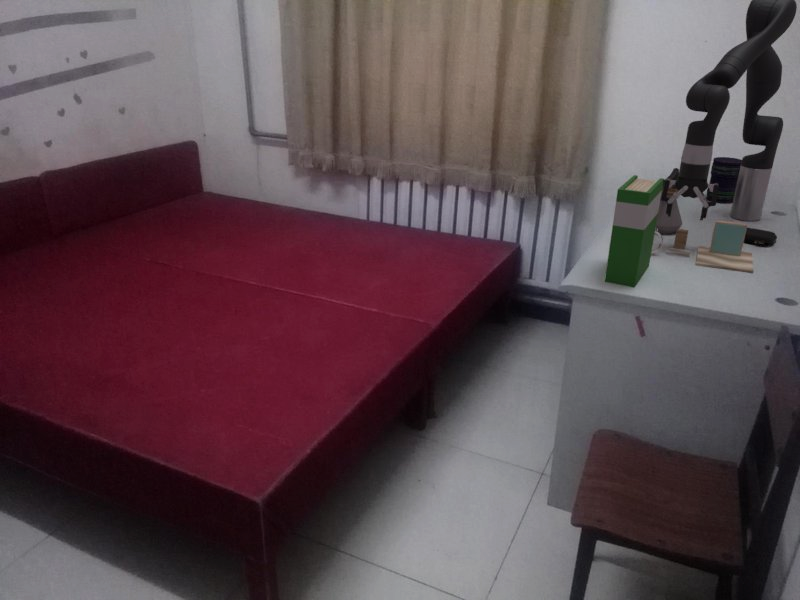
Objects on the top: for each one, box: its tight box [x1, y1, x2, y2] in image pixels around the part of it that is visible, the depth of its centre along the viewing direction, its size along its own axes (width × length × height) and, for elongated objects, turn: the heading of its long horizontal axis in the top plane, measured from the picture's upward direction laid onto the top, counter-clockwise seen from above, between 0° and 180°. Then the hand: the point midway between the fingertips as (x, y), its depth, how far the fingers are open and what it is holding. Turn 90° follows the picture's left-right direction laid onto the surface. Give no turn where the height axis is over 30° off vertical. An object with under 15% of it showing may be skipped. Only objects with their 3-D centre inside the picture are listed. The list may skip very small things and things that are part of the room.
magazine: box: [662, 167, 680, 190], centre depth 235 cm, size 18×3×31 cm
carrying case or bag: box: [744, 227, 778, 247], centre depth 198 cm, size 11×3×15 cm
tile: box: [709, 220, 748, 256], centre depth 183 cm, size 2×8×9 cm, turn 65°
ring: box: [651, 228, 664, 254], centre depth 185 cm, size 7×3×8 cm, turn 61°
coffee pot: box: [656, 188, 683, 235], centre depth 200 cm, size 21×12×15 cm, turn 144°
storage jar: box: [705, 156, 742, 205], centre depth 238 cm, size 10×10×15 cm
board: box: [695, 245, 755, 274], centre depth 182 cm, size 16×14×1 cm
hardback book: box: [604, 174, 665, 289], centre depth 167 cm, size 18×7×24 cm, turn 150°
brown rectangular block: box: [666, 228, 691, 258], centre depth 188 cm, size 10×6×5 cm, turn 155°
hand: (685, 217), depth 186 cm, fingers open, 8 cm apart
